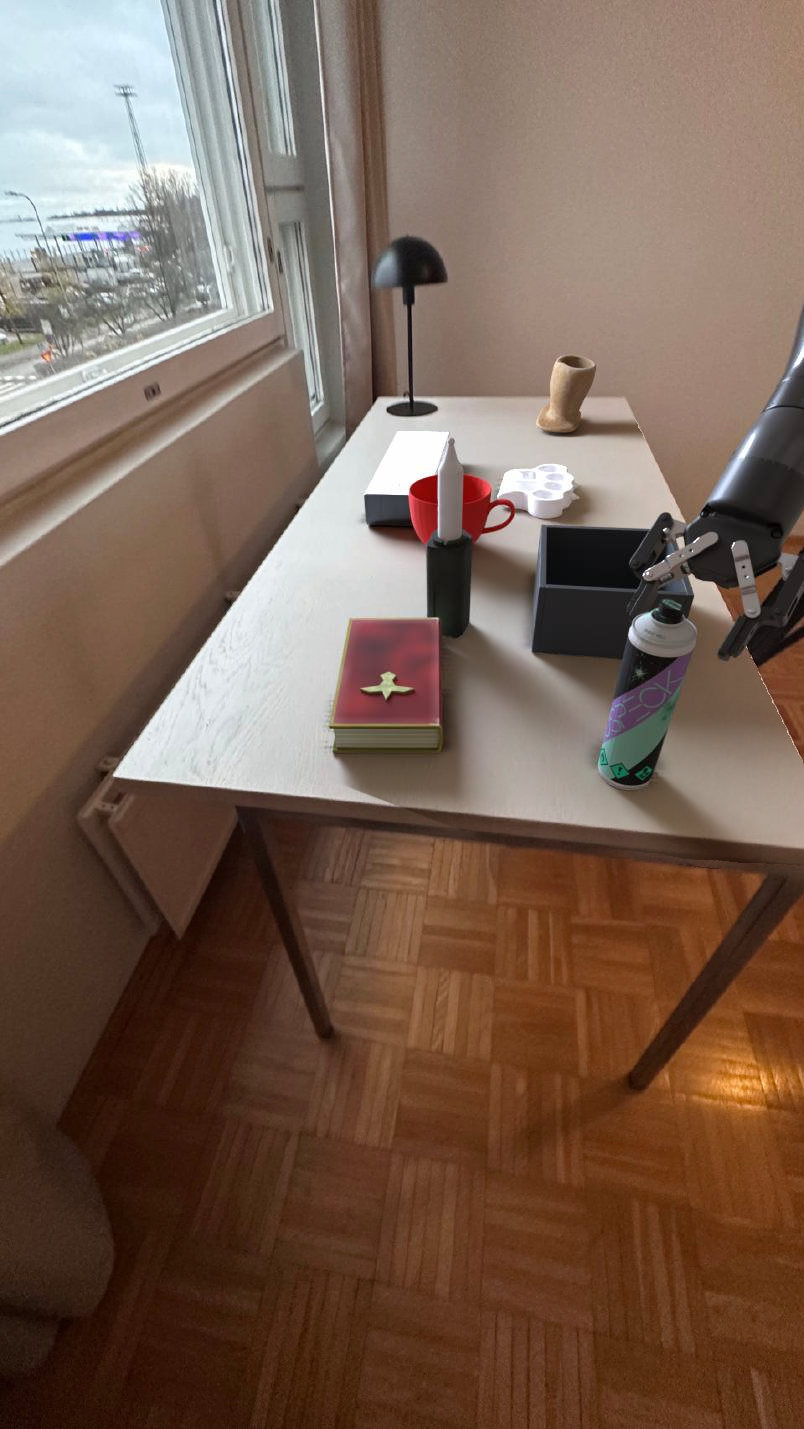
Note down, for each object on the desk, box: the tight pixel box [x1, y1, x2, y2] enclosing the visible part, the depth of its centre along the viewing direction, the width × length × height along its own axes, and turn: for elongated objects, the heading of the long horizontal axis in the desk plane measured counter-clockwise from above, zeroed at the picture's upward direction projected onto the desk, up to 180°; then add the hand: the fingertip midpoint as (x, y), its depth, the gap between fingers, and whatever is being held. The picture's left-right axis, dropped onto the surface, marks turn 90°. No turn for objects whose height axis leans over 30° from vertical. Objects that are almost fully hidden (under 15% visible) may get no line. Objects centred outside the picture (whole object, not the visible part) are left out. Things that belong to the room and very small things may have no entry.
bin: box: [531, 524, 695, 660], centre depth 84 cm, size 18×18×10 cm
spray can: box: [597, 598, 698, 791], centre depth 59 cm, size 6×6×20 cm
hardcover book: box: [328, 617, 444, 754], centre depth 75 cm, size 12×21×4 cm, turn 178°
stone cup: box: [535, 353, 597, 433], centre depth 146 cm, size 15×12×15 cm
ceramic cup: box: [409, 473, 516, 547], centre depth 101 cm, size 13×17×10 cm
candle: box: [425, 437, 474, 639], centre depth 79 cm, size 5×5×25 cm
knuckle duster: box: [496, 463, 581, 520], centre depth 118 cm, size 3×18×15 cm
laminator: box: [363, 430, 451, 527], centre depth 122 cm, size 34×12×6 cm, turn 171°
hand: (675, 640), depth 57 cm, fingers open, 8 cm apart
